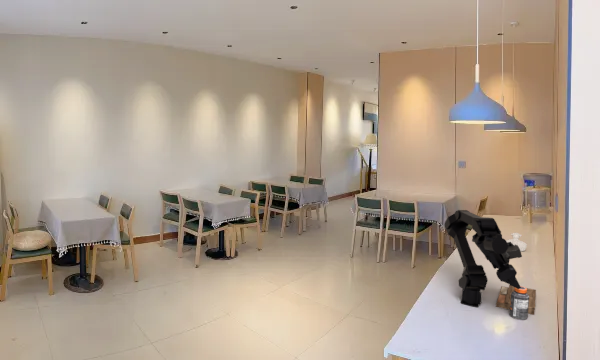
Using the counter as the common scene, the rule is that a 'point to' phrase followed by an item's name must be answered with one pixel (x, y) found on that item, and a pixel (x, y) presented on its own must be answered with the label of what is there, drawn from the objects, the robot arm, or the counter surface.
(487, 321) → the counter surface
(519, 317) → the pill bottle
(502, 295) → the socket frame
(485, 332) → the counter surface
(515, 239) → the white tied bag
